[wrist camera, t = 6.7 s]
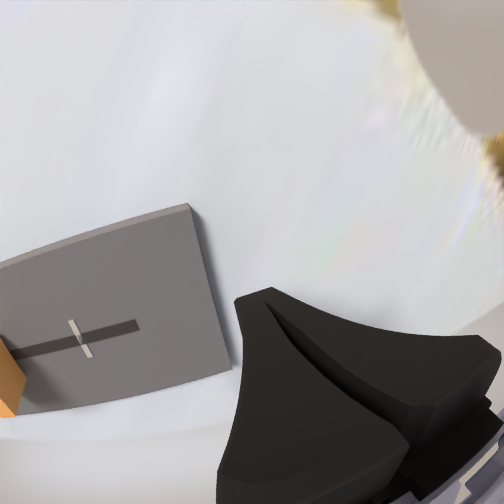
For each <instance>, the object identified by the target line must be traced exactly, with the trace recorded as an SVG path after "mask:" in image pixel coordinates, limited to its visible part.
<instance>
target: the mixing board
mask: <svg viewBox="0 0 504 504" xmlns="http://www.w3.org/2000/svg"><path fill="white" fill-rule="evenodd" d="M0 338H1V339H2V341H3V343H4V344H5V346H6V348H7V349H8V351H9V352H10V354H11V355H12V357H13V359H14V360H15V362H16V363H17V365H18V366H19V368H20V369H21V370H22V372H23V373H24V375H25V376H26V378H27V380H26V383H25V387H24V390H23V393H22V397H21V400H20V404H19V407H18V411H17V415H25V414H34V413H43V412H50V411H57V410H64V409H71V408H77V407H83V406H88V405H94V404H99V403H104V402H109V401H114V400H119V399H124V398H128V397H133V396H137V395H141V394H146V393H150V392H154V391H158V390H162V389H166V388H170V387H173V386H177V385H181V384H184V383H188V382H191V381H195V380H198V379H202V378H205V377H209V376H212V375H215V374H218V373H222V372H225V371H228V370H231V369H232V366H231V362H230V359H229V356H228V352H227V349H226V345H225V342H224V338H223V335H222V331H221V328H220V324H219V320H218V317H217V313H216V309H215V306H214V302H213V298H212V294H211V291H210V287H209V283H208V279H207V275H206V271H205V267H204V263H203V259H202V255H201V251H200V247H199V243H198V239H197V235H196V230H195V226H194V222H193V218H192V213H191V209H190V207H189V205H188V203H185V204H181V205H177V206H173V207H170V208H166V209H162V210H159V211H155V212H152V213H148V214H145V215H141V216H138V217H134V218H131V219H127V220H124V221H121V222H117V223H114V224H111V225H107V226H104V227H101V228H98V229H95V230H92V231H88V232H85V233H82V234H79V235H76V236H73V237H70V238H67V239H64V240H61V241H58V242H55V243H52V244H49V245H47V246H44V247H41V248H38V249H35V250H33V251H30V252H27V253H24V254H22V255H19V256H16V257H14V258H11V259H8V260H6V261H3V262H1V263H0Z"/></svg>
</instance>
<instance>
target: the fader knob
mask: <svg viewBox="0 0 504 504" xmlns="http://www.w3.org/2000/svg"><path fill="white" fill-rule="evenodd" d="M26 380H27V378H26V376H25V375H24V373H23V372H22V370H21V369H20V368H19V366H18V365H17V363H16V362H15V360H14V359H13V357H12V355H11V354H10V352H9V351H8V349H7V348H6V346H5V344H4V343H3V341H2V339H1V338H0V418H6V417H16V415H17V411H18V407H19V404H20V400H21V397H22V393H23V390H24V387H25V383H26Z"/></svg>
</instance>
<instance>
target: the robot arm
mask: <svg viewBox="0 0 504 504" xmlns="http://www.w3.org/2000/svg"><path fill="white" fill-rule="evenodd" d="M234 305H235V309H236V313H237V317H238V321H239V325H240V329H241V333H242V337H243V365H242V377H241V385H240V392H239V399H238V404H237V409H236V413H235V417H234V421H233V425H232V429H231V433H230V437H229V440H228V443H227V446H226V449H225V451H224V454H223V457H222V460H221V463H220V465H219V468H218V471H217V485H216V504H454V502H455V500H456V498H457V495H458V492H459V490H460V487H461V483H460V482H459V481H458V480H459V479H460V478H461V477H462V476H463V475H464V474H465V473H466V472H467V471H468V470H470V469H471V468H472V467H473V466H474V465H475V464H476V463H477V462H478V461H479V460H480V459H481V458H482V457H483V456H484V455H485V454H486V453H487V452H488V451H489V450H490V449H491V448H492V447H493V446H494V444H495V443H496V442H497V441H498V440H499V441H498V446H499V448H498V450H497V451H496V453H495V454H494V455H493V456H492V457H491V458H490V459H489V460H488V461H487V462H486V463H485V464H484V466H482V468H481V469H480V470H479V471H478V472H477V473H476V474H474V475H473V476H472V477H471V478H470V479H469V480H468V481H467V482H466V483H465V486H466V487H467V489H468V490H469V491H470V492H471V494H470V495H469V496H468V497H466V499H464V500H463V501H462V502H461V503H460V504H504V408H503V409H502V410H501V411H500V412H499V414H497V416H496V415H495V414H494V413H493V412H492V411H491V410H490V409H489V407H490V406H491V404H492V403H491V401H490V400H489V399H488V398H487V397H486V396H485V394H486V393H487V391H488V389H489V387H490V385H491V383H492V381H493V380H494V377H495V376H496V374H497V371H498V369H499V367H500V364H501V360H502V359H501V352H500V351H499V350H498V349H496V348H495V347H494V346H492V345H491V344H490V343H488V342H487V341H486V340H484V339H483V338H482V337H480V336H479V335H465V336H430V335H417V334H407V333H401V332H394V331H388V330H383V329H378V328H374V327H370V326H366V325H362V324H359V323H355V322H352V321H349V320H346V319H343V318H340V317H337V316H334V315H332V314H329V313H327V312H324V311H322V310H319V309H317V308H315V307H312V306H310V305H308V304H306V303H304V302H301V301H299V300H297V299H295V298H293V297H291V296H289V295H287V294H285V293H283V292H281V291H279V290H277V289H275V288H273V287H269V288H266V289H263V290H260V291H257V292H254V293H251V294H248V295H245V296H242V297H239V298H236V300H235V301H234Z"/></svg>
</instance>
